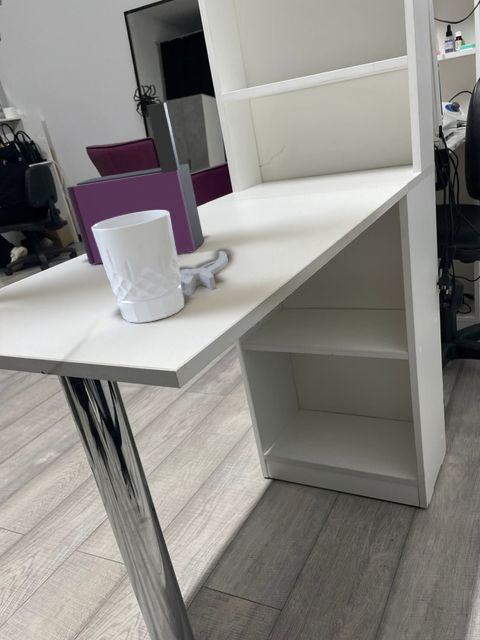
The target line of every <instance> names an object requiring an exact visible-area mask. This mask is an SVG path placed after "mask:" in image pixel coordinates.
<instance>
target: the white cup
mask: <svg viewBox="0 0 480 640" xmlns="http://www.w3.org/2000/svg"><path fill="white" fill-rule="evenodd" d="M91 229H92V232H93V235H94V238H95V241H96V244H97V247H98V250H99V253H100V256H101V259H102V262H103V263H102V264H103V267H104V270H105V274H106V276H107V279H108V281H109V284H110V286H111V290H112V292H113V294H114V296H115V297H116V301H117V304H118V308H119V311H120V313H121V316H122V318H123V319H124V320H125V321H127V322H128V323H136V324H137V323H148V322H154V321H158V320H162V319H165V318H168V317H171V316H173V315H175V314H177V313H178V312H180V311H181V310H182V309H184V307H185V297H184V292H183V287H182V282H181V275H180V270H181V269H180V264H179V258H178V254H177V251H176V246H175V241H174V235H173V230H172V224H171V219H170V213H169V211H167V210H150V211H142V212H136V213H131V214H126V215H122V216H118V217H114V218H110V219H107V220H104V221H101V222H99V223H97V224H95V225H93V226H92V227H91Z"/></svg>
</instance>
